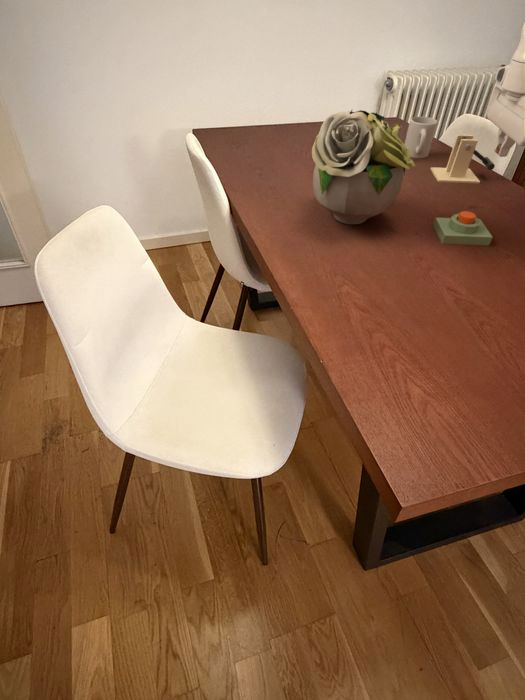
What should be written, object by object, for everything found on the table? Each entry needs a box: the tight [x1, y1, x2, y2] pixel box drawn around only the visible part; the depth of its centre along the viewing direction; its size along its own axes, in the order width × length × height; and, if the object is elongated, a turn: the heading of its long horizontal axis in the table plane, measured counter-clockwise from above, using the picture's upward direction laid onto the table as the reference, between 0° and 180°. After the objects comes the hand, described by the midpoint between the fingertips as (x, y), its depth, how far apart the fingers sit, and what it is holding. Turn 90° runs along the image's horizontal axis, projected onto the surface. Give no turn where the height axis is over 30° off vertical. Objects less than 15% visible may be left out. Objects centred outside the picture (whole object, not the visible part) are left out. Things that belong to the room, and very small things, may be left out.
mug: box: [404, 116, 438, 159], centre depth 131 cm, size 12×8×11 cm
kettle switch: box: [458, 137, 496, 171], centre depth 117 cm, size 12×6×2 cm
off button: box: [458, 210, 477, 224], centre depth 95 cm, size 4×4×2 cm
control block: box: [432, 213, 493, 246], centre depth 97 cm, size 11×9×4 cm
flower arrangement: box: [311, 109, 416, 225], centre depth 95 cm, size 25×25×24 cm
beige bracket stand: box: [430, 134, 481, 185], centre depth 118 cm, size 12×10×12 cm
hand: (500, 154), depth 87 cm, fingers closed
